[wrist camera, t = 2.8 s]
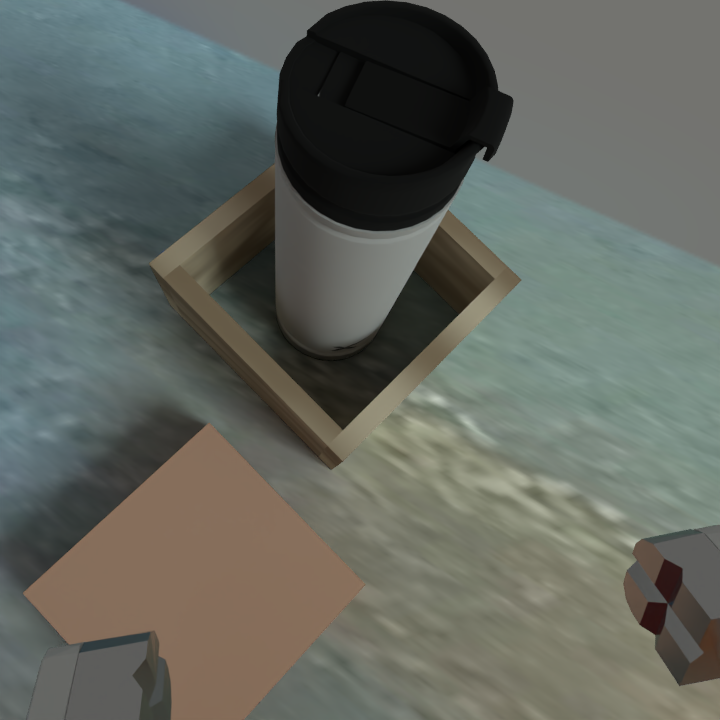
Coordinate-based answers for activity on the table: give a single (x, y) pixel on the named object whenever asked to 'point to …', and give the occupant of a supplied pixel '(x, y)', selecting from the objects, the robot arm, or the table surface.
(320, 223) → the travel mug
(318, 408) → the open wooden box frame
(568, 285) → the table surface
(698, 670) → the robot arm
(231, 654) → the tile stand
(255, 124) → the table surface
